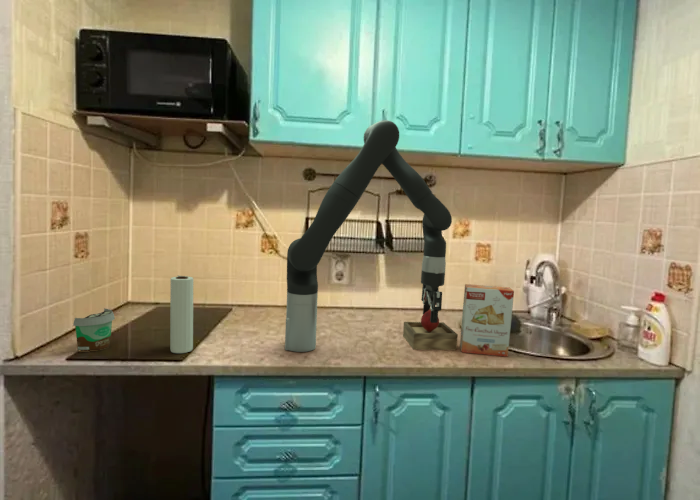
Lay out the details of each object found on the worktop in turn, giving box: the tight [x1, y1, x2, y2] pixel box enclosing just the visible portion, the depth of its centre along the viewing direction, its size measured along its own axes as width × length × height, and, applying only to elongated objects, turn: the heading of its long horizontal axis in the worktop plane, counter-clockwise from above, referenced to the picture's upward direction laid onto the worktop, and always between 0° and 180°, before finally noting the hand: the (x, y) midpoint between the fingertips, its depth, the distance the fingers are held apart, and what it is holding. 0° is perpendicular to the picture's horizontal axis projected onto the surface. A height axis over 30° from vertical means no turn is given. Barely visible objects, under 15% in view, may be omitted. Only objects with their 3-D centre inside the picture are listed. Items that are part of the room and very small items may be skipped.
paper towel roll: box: [169, 275, 194, 354], centre depth 124 cm, size 7×6×21 cm
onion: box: [420, 307, 440, 332], centre depth 142 cm, size 6×6×8 cm
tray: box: [402, 321, 458, 351], centre depth 142 cm, size 14×14×5 cm
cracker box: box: [459, 283, 515, 357], centre depth 134 cm, size 14×6×21 cm, turn 82°
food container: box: [72, 308, 116, 351], centre depth 123 cm, size 12×6×10 cm, turn 171°
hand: (429, 318), depth 142 cm, fingers open, 8 cm apart
